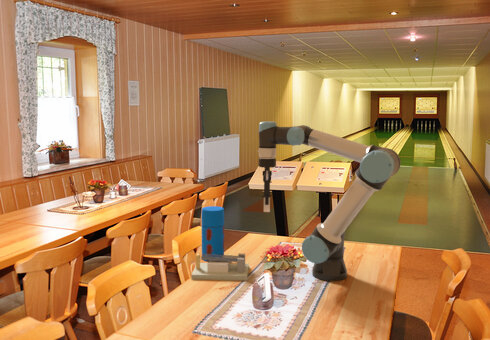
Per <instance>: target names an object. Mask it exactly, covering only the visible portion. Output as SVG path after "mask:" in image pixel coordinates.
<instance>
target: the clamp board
mask: <svg viewBox="0 0 490 340" xmlns="http://www.w3.org/2000/svg"><path fill="white" fill-rule="evenodd" d="M241 255H242V256H244V258H238V259H237V262H234V263H233V262H230V261H214V260H209V261H208V262H201V254H200V253H196V254H195V266H194V269H193V271H192V272H191V275H190V278H191V280H208V281H209V280H212V281H213V280H215V281H216V280H218V281H248V278H249V277H248V276H249V269H250V264H249V263H246V253H238V255H237V256H241Z"/></svg>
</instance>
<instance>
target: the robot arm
mask: <svg viewBox="0 0 490 340" xmlns="http://www.w3.org/2000/svg"><path fill="white" fill-rule="evenodd" d="M277 125H278V123H277V122H276V121H261V122H259V125H258V132H257V133H258V149H257V153H258V157H259V158H258V167H259V168H264V170H262V182H263V195H262V198H263V213H270V212H271V197H272V194H271V182H272V175H273V173H272V170H270V169H271V168H275V167H276V166H277V158H276V157H277V145H285V146H301V145H304V146H308V147H312V148H314V149H318V150H321V151H324V152H326V153H329V154H333V155H335V156H338V157H339V156H340V157H342V158H345V159H348V160H351V161H354V162H356V163H359V167H358V168H357V169H356V171H355V173H354V175H355V179H354V180H353V182H352V183H351V185H349V187H348V188H347V190H346V191H345V193H344V194H343V196H342V197H341V198H340V200H339V201H338V203H337V204H336V205H335V206H334V208H333V209H332V210H331V212H330V213H329V214H328V216H327V217H326V219H325V220H324V222H320V223H318V224H317V225H316V226H315V228H314V229H313V230H312V232H311V233H310V234H309V235H308V236H306V237H305V238H304V240H303V241H302V244H301V251H302V255H303V256H304V258H305V259H306V260H307V261H308V262H310V263H312V264H313V267H312V270H311V274H312V276H313V277H314V278H317V279H319V280H322V281H330V282H335V281H342V280H345V279H346V278H347V277H348V270H347V267H346V263H345V259H344V253H345V252H344V251H345V233H346V232H345V231H346V229H348V227H349V226H350V224H352V222H353V221H354V219H355V217H357V215H358V214H359V213H360V211H361V210H362V209H363V207H364V206H365V204H367V202H368V200H369V199H370V198H371V197H372V195H373V194H374V193H375V192H378V191H379V192H380V191H382V189H383V187H384V186H385V185H386V183H387V182H388V181H389V180H390V178H392V177H393V176H395V175H396V174H397V173H398V172H399V170H400V167H401V158H400V155H399V154H398V153H397V152H396V151H395V150H394V149H391V148H388V147H383V146H379V145H375V144H371V145H366V144H363V143H359V142H356V141H353V140H351V139H347V138H343V137H340V136H337V135H334V134H332V133H331V134H330V133H327V132H324V131H321V130H317V129H315V128H311V127H310V126H309V125H297V126H295V125H294V126H277Z"/></svg>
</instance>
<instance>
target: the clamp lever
mask: <svg viewBox="0 0 490 340" xmlns="http://www.w3.org/2000/svg"><path fill="white" fill-rule="evenodd" d="M238 258H244V256H242V255H241V256H238V255H229V254H228V255H227V254H224V255H216V254H202V253H201V255H200V261H203V260H214V261H230V263H233V262H234V263H237V259H238Z"/></svg>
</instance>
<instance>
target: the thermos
mask: <svg viewBox="0 0 490 340" xmlns="http://www.w3.org/2000/svg"><path fill="white" fill-rule="evenodd" d="M202 254H216V255H225V209H224V207H222V206H218V205H217V206H215V205H211V206H210V205H208V206H204V207H202V208H201V255H202ZM202 261H204V262H205V263H208V261H209V260H202Z"/></svg>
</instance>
